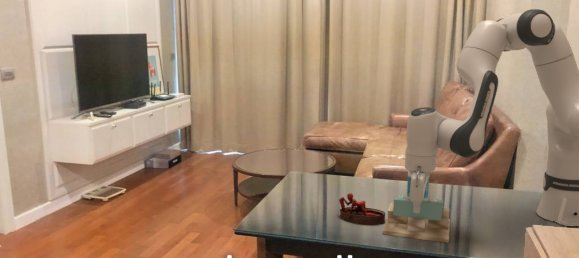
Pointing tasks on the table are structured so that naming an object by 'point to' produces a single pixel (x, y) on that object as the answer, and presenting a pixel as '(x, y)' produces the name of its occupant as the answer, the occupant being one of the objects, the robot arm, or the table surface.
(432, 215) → the teal c-shaped bracket
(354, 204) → the figurine
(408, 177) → the pill bottle
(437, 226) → the display stand
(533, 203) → the table surface
